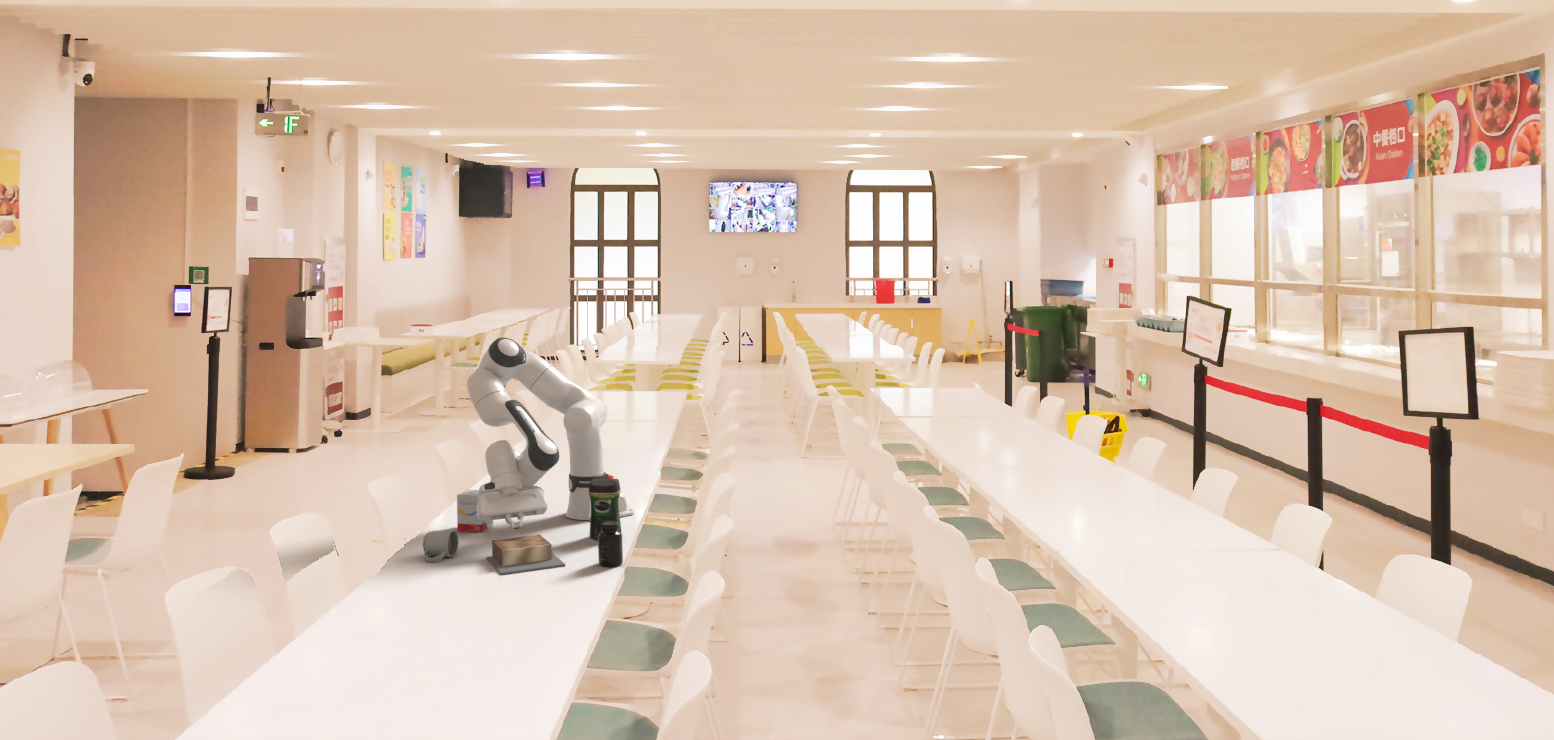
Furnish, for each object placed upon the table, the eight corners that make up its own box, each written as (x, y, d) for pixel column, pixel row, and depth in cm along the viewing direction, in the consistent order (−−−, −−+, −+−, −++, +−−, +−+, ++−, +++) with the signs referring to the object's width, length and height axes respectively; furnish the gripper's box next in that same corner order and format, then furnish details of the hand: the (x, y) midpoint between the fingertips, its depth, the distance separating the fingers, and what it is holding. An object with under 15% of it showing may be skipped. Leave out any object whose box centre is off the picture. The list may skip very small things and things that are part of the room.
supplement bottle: (610, 559, 312) (609, 518, 311) (627, 563, 308) (627, 522, 307) (593, 565, 306) (592, 523, 305) (611, 569, 303) (610, 527, 301)
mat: (547, 550, 320) (547, 549, 320) (565, 566, 305) (565, 564, 305) (486, 559, 312) (486, 557, 311) (501, 575, 297) (501, 572, 297)
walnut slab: (539, 534, 319) (551, 544, 309) (539, 548, 320) (551, 559, 310) (491, 540, 313) (502, 550, 302) (492, 555, 313) (502, 566, 303)
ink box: (481, 533, 339) (480, 496, 338) (456, 531, 341) (455, 494, 340) (494, 526, 348) (493, 490, 346) (469, 524, 349) (468, 488, 348)
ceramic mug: (432, 551, 319) (431, 526, 318) (459, 552, 318) (458, 527, 317) (417, 562, 308) (415, 536, 307) (444, 564, 307) (443, 537, 306)
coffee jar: (623, 534, 338) (622, 476, 336) (618, 541, 331) (617, 481, 328) (592, 534, 339) (591, 475, 337) (587, 541, 331) (586, 481, 329)
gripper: (539, 491, 329) (549, 530, 322) (471, 498, 320) (480, 538, 312) (543, 479, 325) (554, 518, 317) (474, 486, 315) (483, 527, 308)
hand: (517, 528), depth 315 cm, fingers closed
